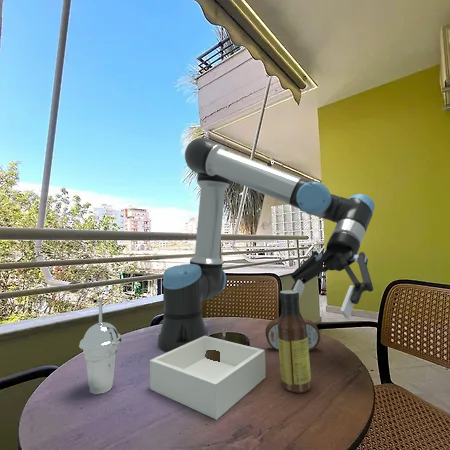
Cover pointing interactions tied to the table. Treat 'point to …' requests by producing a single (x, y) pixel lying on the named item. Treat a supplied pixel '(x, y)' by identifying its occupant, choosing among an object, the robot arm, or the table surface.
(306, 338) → the sauce bottle
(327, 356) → the table surface
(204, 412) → the box
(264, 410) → the table surface
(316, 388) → the table surface
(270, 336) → the tin
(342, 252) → the robot arm
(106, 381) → the cup with straw
